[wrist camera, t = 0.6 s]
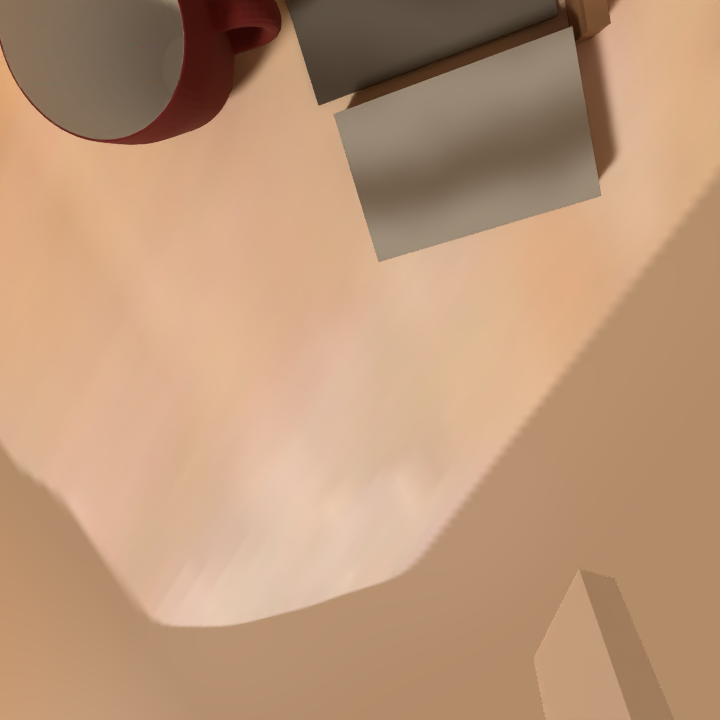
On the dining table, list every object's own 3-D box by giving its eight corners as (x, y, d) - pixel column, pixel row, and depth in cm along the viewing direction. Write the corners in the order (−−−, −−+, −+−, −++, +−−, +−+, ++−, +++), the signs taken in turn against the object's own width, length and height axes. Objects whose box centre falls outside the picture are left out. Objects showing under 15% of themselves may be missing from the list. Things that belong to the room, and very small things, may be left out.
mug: (263, -67, 28) (176, -181, 18) (327, 92, 30) (277, 61, 21) (102, 31, 30) (-46, -26, 21) (171, 170, 33) (65, 174, 23)
